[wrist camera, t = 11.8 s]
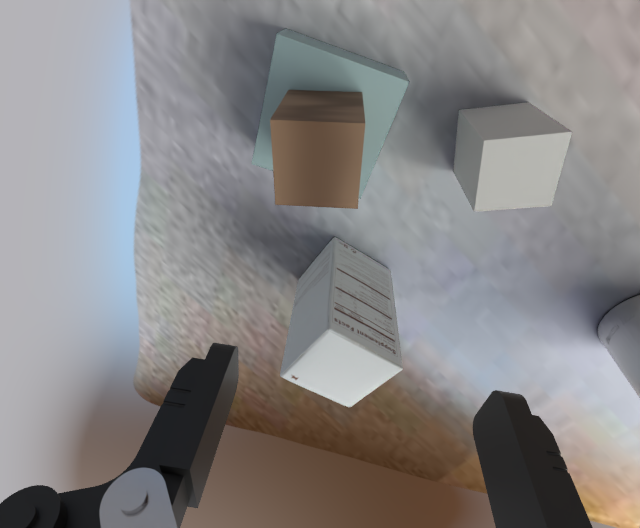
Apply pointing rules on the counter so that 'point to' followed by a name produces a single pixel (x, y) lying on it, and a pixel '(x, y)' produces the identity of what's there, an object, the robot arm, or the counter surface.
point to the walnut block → (318, 148)
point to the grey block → (509, 156)
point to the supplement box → (343, 326)
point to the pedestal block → (330, 75)
